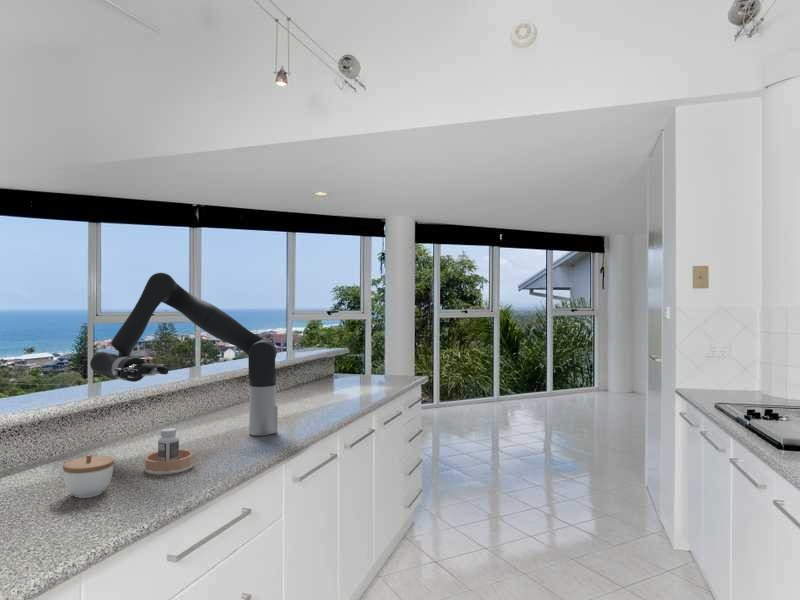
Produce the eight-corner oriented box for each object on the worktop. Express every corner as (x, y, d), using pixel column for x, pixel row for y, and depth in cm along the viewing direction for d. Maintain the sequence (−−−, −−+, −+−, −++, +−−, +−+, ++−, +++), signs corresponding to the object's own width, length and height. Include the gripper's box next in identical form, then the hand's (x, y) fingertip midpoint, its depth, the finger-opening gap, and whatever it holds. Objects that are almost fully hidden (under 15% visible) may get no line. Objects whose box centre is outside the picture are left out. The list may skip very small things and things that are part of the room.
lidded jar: (77, 505, 124) (77, 464, 124) (53, 496, 130) (54, 457, 130) (122, 491, 133) (122, 453, 134) (98, 483, 139) (98, 447, 139)
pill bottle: (178, 460, 156) (178, 426, 156) (179, 465, 151) (179, 430, 152) (157, 463, 154) (157, 428, 154) (158, 468, 149) (158, 432, 149)
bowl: (188, 459, 161) (188, 447, 161) (196, 470, 151) (197, 457, 151) (142, 465, 155) (142, 453, 155) (147, 477, 144) (147, 464, 144)
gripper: (104, 358, 165) (127, 361, 155) (151, 355, 176) (175, 357, 166) (105, 383, 165) (127, 388, 155) (151, 378, 176) (175, 382, 166)
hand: (152, 372), depth 160 cm, fingers open, 8 cm apart
